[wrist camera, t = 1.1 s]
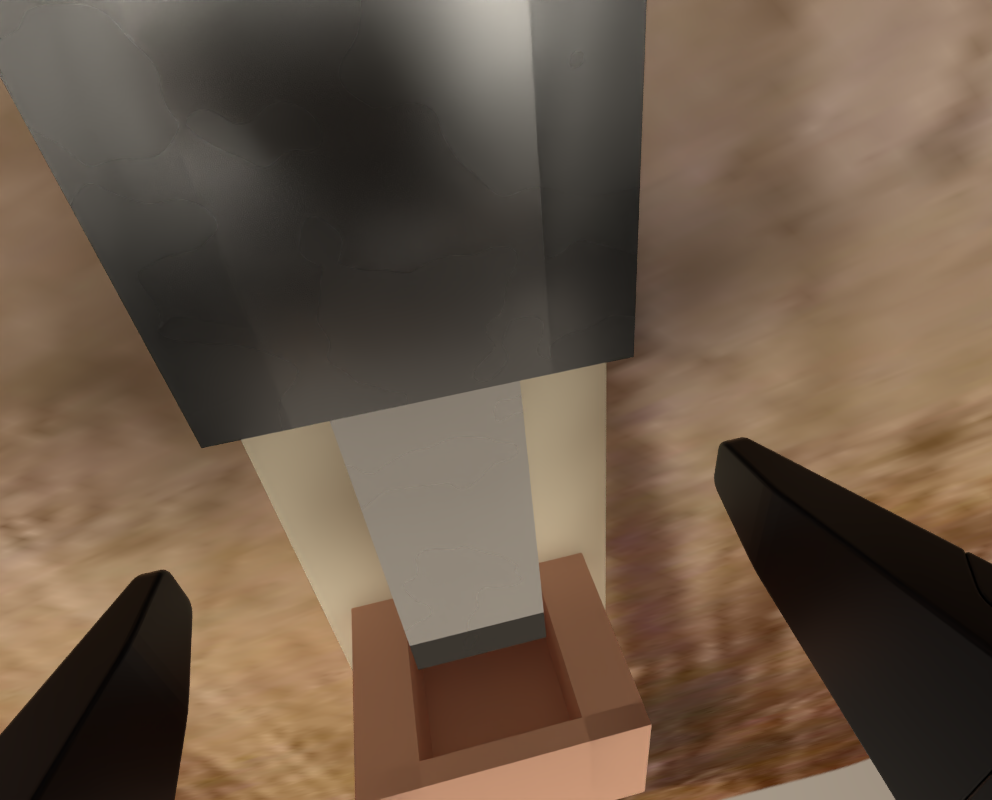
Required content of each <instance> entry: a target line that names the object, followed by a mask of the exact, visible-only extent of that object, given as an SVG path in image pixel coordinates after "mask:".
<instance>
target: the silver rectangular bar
mask: <svg viewBox="0 0 992 800" xmlns="http://www.w3.org/2000/svg"><path fill="white" fill-rule="evenodd" d="M330 424H331V426H332V429H333V432H334V435H335V438H336V440H337V443H338V446H339V449H340V452H341V454H342V457H343V460H344V463H345V466H346V468H347V471H348V474H349V477H350V480H351V482H352V485H353V488H354V491H355V494H356V497H357V499H358V502H359V505H360V508H361V511H362V513H363V516H364V519H365V522H366V525H367V527H368V530H369V533H370V536H371V539H372V541H373V544H374V547H375V550H376V553H377V555H378V558H379V561H380V564H381V567H382V570H383V572H384V575H385V578H386V581H387V584H388V586H389V589H390V592H391V595H392V598H393V600H394V603H395V606H396V609H397V612H398V614H399V617H400V620H401V623H402V626H403V628H404V631H405V634H406V637H407V640H408V643H409V645H410V648H411V651H412V654H413V657H414V659H415V662H416V665H417V668H418V670H420V669H424V668H428V667H432V666H436V665H439V664H443V663H447V662H451V661H455V660H459V659H463V658H467V657H471V656H475V655H479V654H482V653H486V652H490V651H494V650H498V649H502V648H506V647H510V646H514V645H518V644H522V643H525V642H529V641H533V640H537V639H541V638H545V637H546V629H545V619H544V609H543V600H542V590H541V580H540V571H539V561H538V551H537V541H536V532H535V522H534V512H533V503H532V493H531V483H530V473H529V464H528V454H527V444H526V435H525V425H524V415H523V405H522V396H521V386H520V381H516V382H512V383H507V384H502V385H497V386H493V387H488V388H483V389H479V390H474V391H469V392H464V393H460V394H455V395H450V396H445V397H441V398H436V399H431V400H427V401H422V402H417V403H412V404H408V405H403V406H398V407H394V408H389V409H384V410H379V411H375V412H370V413H365V414H360V415H356V416H351V417H346V418H342V419H337V420H332V421H330Z"/></svg>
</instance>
